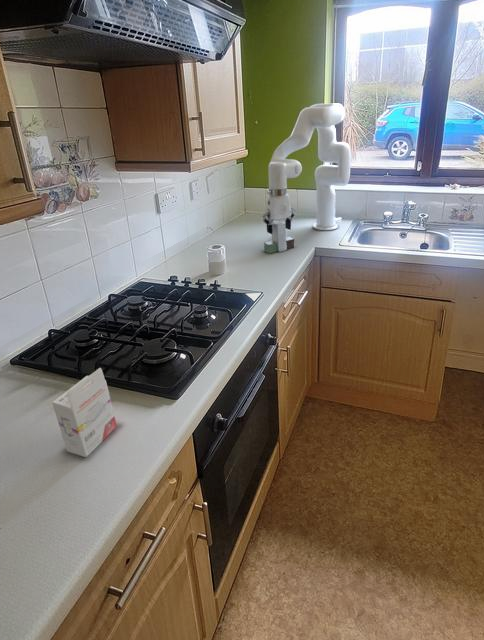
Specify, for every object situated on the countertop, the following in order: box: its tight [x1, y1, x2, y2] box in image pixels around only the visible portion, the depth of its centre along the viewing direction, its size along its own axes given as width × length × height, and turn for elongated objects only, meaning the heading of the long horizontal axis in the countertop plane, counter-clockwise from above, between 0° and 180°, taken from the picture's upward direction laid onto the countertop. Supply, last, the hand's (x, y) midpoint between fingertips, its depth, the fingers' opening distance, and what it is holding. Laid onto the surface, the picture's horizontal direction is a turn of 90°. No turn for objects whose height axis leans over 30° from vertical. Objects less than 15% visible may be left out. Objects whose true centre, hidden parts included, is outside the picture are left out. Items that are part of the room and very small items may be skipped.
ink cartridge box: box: [51, 367, 118, 458], centre depth 77 cm, size 9×5×15 cm, turn 158°
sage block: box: [263, 240, 278, 255], centre depth 178 cm, size 4×4×4 cm
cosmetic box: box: [271, 220, 288, 252], centre depth 179 cm, size 6×4×12 cm
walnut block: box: [286, 236, 295, 250], centre depth 183 cm, size 4×4×4 cm
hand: (279, 231), depth 178 cm, fingers open, 9 cm apart
